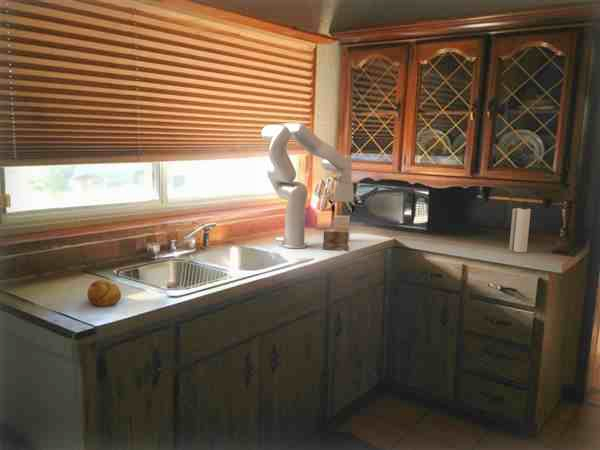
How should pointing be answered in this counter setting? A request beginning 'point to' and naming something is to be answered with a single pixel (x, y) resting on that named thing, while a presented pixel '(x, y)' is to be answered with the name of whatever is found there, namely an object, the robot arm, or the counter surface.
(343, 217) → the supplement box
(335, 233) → the cleat holder
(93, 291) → the bread roll
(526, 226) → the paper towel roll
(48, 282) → the counter surface
